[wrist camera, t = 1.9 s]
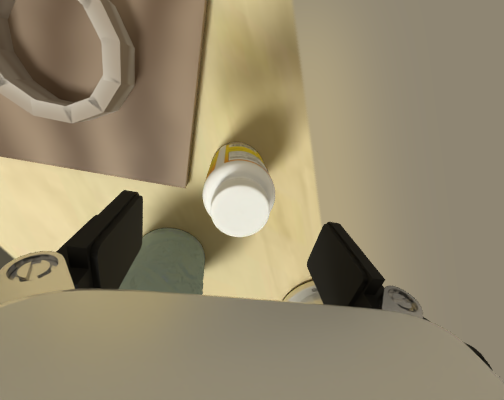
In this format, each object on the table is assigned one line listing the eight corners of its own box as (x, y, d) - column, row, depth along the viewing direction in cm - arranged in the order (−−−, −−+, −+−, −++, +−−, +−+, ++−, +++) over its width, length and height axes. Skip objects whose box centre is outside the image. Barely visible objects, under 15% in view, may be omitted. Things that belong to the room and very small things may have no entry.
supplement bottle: (226, 198, 25) (222, 258, 16) (201, 154, 23) (179, 195, 13) (270, 178, 24) (293, 228, 15) (250, 131, 22) (262, 157, 13)
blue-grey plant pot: (134, 281, 29) (76, 390, 18) (124, 217, 25) (42, 309, 14) (210, 284, 30) (197, 386, 20) (213, 222, 26) (200, 311, 15)
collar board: (215, -70, 16) (210, -115, 12) (187, 184, 24) (180, 198, 20) (-137, -202, 12) (-275, -311, 9) (-29, 146, 20) (-79, 156, 17)
